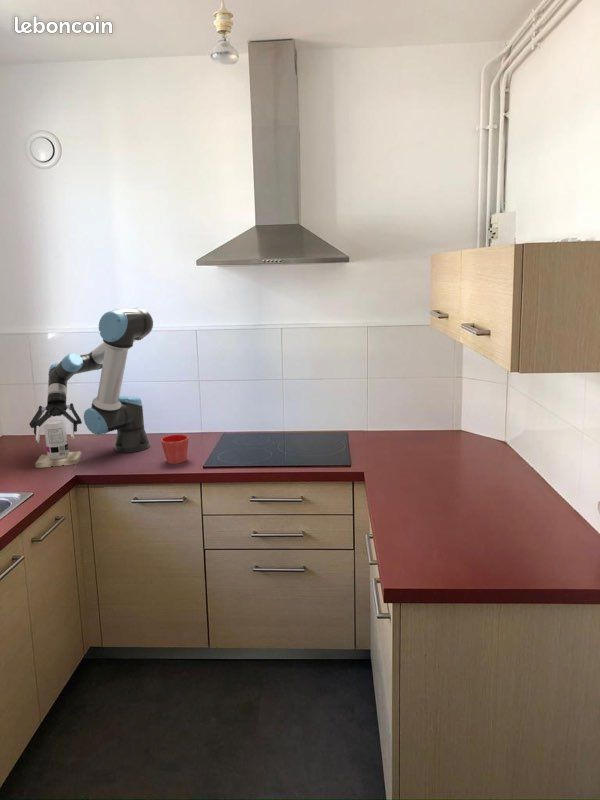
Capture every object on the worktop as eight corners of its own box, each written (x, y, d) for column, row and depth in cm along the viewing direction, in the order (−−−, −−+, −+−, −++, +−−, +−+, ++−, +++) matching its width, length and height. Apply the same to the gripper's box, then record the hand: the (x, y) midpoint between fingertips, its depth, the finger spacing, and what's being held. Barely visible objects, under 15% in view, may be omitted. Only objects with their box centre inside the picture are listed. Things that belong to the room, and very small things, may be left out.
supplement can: (43, 459, 255) (39, 424, 252) (58, 453, 263) (53, 419, 259) (59, 460, 252) (54, 425, 249) (73, 454, 259) (69, 420, 256)
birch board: (81, 455, 265) (80, 451, 264) (77, 464, 253) (76, 459, 253) (41, 459, 262) (41, 454, 261) (35, 468, 250) (35, 463, 250)
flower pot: (182, 465, 246) (180, 442, 244) (158, 464, 249) (156, 441, 247) (194, 457, 255) (192, 434, 253) (170, 456, 259) (168, 433, 257)
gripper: (89, 398, 270) (88, 441, 259) (28, 403, 265) (25, 447, 254) (86, 389, 264) (85, 432, 252) (23, 394, 259) (20, 437, 248)
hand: (55, 439), depth 253 cm, fingers open, 13 cm apart
